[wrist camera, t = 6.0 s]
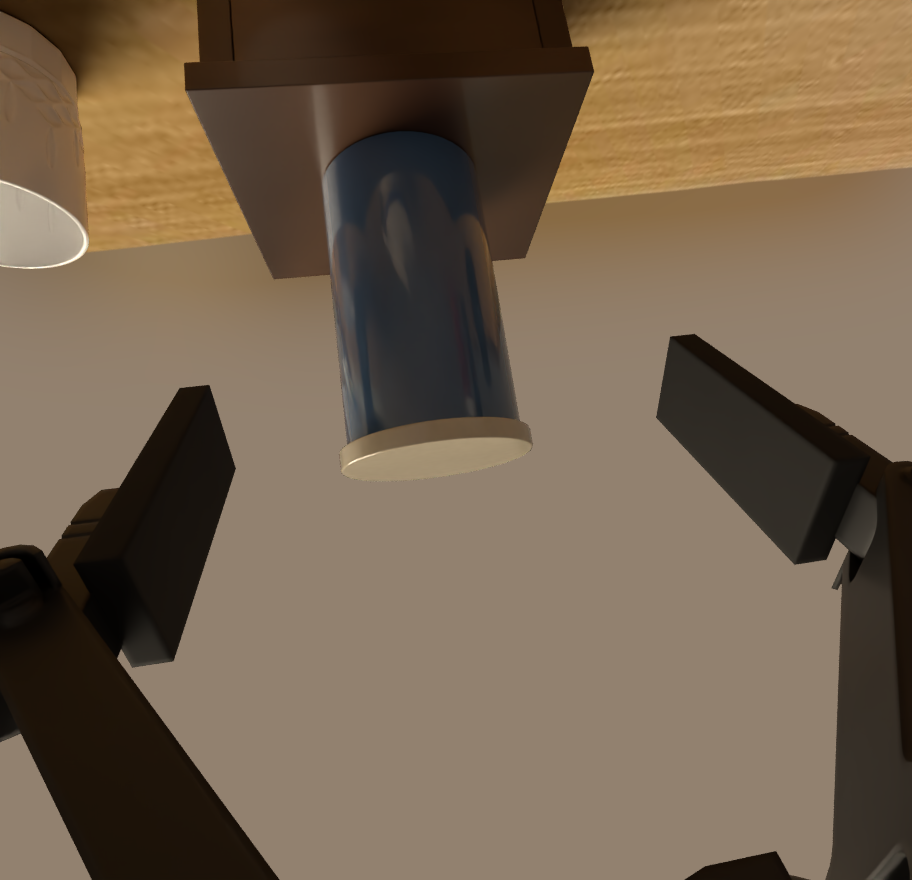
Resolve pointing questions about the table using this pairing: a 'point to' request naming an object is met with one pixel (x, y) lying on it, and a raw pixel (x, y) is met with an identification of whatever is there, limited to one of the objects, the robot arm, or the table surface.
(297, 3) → the brown miniature bookshelf
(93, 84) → the table surface
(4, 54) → the white cup
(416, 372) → the blue lidded mug
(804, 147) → the table surface
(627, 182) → the table surface
